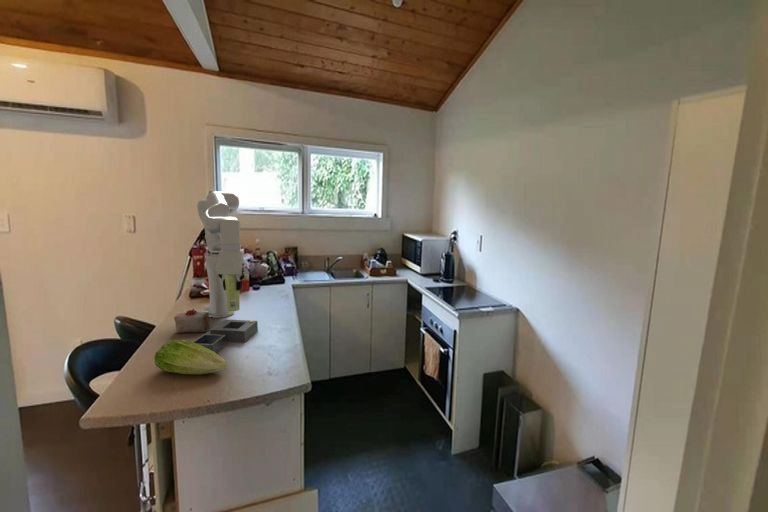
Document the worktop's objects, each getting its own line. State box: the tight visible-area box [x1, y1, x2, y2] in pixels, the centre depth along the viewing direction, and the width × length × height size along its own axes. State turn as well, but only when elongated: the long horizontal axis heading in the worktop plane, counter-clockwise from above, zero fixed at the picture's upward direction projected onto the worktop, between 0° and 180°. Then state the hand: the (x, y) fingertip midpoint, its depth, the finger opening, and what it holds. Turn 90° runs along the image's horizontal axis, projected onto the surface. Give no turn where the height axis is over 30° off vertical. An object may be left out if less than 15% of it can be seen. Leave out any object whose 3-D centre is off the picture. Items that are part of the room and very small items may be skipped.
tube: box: [223, 267, 241, 312], centre depth 153 cm, size 6×5×20 cm
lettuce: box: [154, 339, 227, 375], centre depth 123 cm, size 12×24×13 cm
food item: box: [173, 308, 210, 334], centre depth 160 cm, size 14×8×10 cm, turn 99°
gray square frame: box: [191, 333, 228, 354], centre depth 142 cm, size 10×11×4 cm
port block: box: [209, 319, 259, 344], centre depth 156 cm, size 15×13×5 cm
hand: (232, 289), depth 153 cm, fingers closed on tube, 4 cm apart
